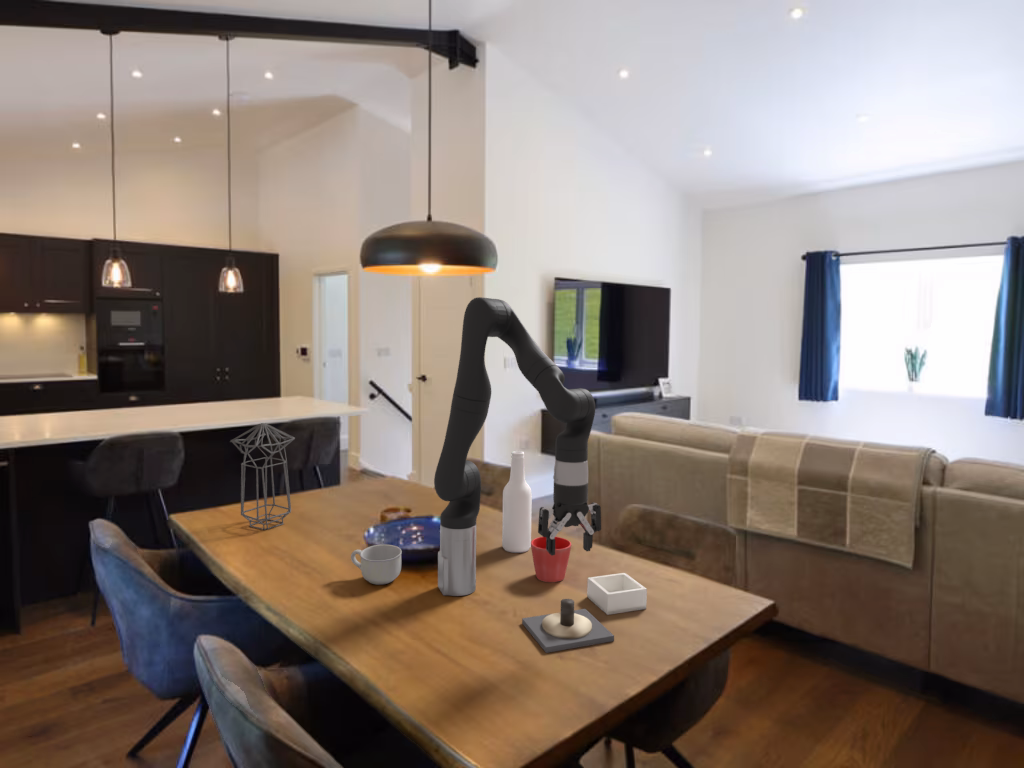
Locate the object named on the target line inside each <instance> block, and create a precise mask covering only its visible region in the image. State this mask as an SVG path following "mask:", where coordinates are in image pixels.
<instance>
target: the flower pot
mask: <svg viewBox="0 0 1024 768" xmlns="http://www.w3.org/2000/svg"><path fill="white" fill-rule="evenodd" d="M530 548H531V549H530V550H531V554H532V561H533V567H534V571H535V577H536V578H537V580H539V581H541V582H544V583H558V582H561V581H563V580H565V578H566V573H567V568H568V564H569V559H570V554H571V549H572V542H571V541H570V540H569V539H566V538H563V537H559V536H555V555H552V556H551V555H550V554H549V552H547V550H546V537H543V536H538V537H535V538H534V539H531V547H530Z"/></svg>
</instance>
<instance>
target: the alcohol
mask: <svg viewBox="0 0 1024 768" xmlns="http://www.w3.org/2000/svg"><path fill="white" fill-rule="evenodd" d="M510 457H511V461H510V462H511V463H510V474H509V480H508V482H507V484H505V486H504V487H503V490H502V526H501V527H502V532H501V533H502V537H501V539H502V541H501V546H502V548H503V550H504V551H505V552H508V553H513V554H519V553H520V554H522V553H526V552H528V551H530V548H531V541H532V499H533V497H532V496H533V494H532V488H531V486H530V485H529V484H528V483H527V481H526V472H525V471H526V469H525V452H524V451H522V450H514V451H511V455H510Z"/></svg>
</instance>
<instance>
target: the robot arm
mask: <svg viewBox="0 0 1024 768" xmlns="http://www.w3.org/2000/svg"><path fill="white" fill-rule="evenodd" d="M461 331H462V333H461V344H460V352H459V353H460V355H459V361H458V365H457V366H458V367H457V373H456V380H455V383H454V388H453V393H452V394H453V395H452V399H451V402H450V403H451V404H450V411H449V412H450V413H449V417H448V423H447V427H446V431H445V436H444V437H445V438H444V441H443V444H442V449H441V451H440V452H441V453H440V456H439V459H438V462H437V466H436V469H435V472H434V478H433V479H434V480H433V484H434V490H435V493H436V495H437V496H438V497H439V498H440V499H441V500H442V501H445V502H448V504H447V506H445V508H444V509H443V510H442V511H441V513H440V518H439V521H440V522H439V523H440V524H439V525H440V527H439V528H440V529H439V532H440V533H439V541H440V542H439V545H440V547H439V551H437V587H438V589H439V590H440V592H441V594H442V596H453V597H460V596H467V595H470V594H472V593H474V592H475V591H476V587H477V578H476V577H477V519H478V516H479V513H480V508H481V495H482V494H481V492H482V478H481V473H480V470H479V468H478V466H477V465H476V464H475V463H474V462H473V461H470V460H468V459H467V458H468V455H469V452H470V449H471V447H472V445H473V442H474V441H475V439H476V438H477V436H478V434H479V433H480V431H481V430H482V428H483V425H484V424H485V422H486V421H487V420H486V419H487V416H488V413H489V409H490V404H491V398H492V385H491V381H490V378H489V373H488V371H487V368H486V367H487V366H486V363H485V361H486V360H485V355H486V354H485V352H486V348H487V342H488V338H498V339H499V340H501V341H502V342H504V343H505V344H506V345H507V346H508V347H509V348H510V349H511V350H512V353H513V354H514V357H515V361H516V363H517V367H518V369H519V371H520V372H521V374H522V375H523V377H525V379H526V380H527V382H529V384H530V385H531V386H532V387H533V388H535V390H536V391H537V392H538V394H539V397H540V399H541V400H542V403H543V404H544V407H545V408H546V410H547V412H548V413H549V415H550V416H551V417H552V418H553V419H554V420H556V421H558V422H560V423H566V426H565V428H564V430H563V431H561V432H559V433H558V434H557V436H556V438H555V448H554V449H555V451H554V454H555V455H554V456H555V457H554V459H555V460H554V468H553V476H552V479H553V497H552V498H553V505H552V507H551V508H549V507H548V508H546V507H544V506H541V507H540V508H539V510H538V511H539V512H538V523H537V524H538V525H537V527H538V528H537V533H538V534H539V535H540V536H541V537H546V550H547V552H549V554H550V555H551V556H552V555H555V537H557V535H558V534H559V532H561V531H562V530H563V528H564V527H565V528H568V527H569V528H570V527H572V526H573V527H579V525H580V527H581V528H582V529H583V532H582V533H583V535H582V538H583V539H582V543H583V544H582V548H583V550H584V551H586V552H590V551H591V549H592V548H593V540H594V539H593V538H594V537H593V535H594V533H596V532H600V531H601V530H602V511H601V510H602V509H601V505H600V504H598V503H597V502H594V501H593V502H591V504H588V501H589V464H588V454H589V453H588V452H589V443H588V441H589V438H590V436H591V431H592V428H593V424H594V420H595V414H596V403H595V398H594V396H593V394H592V393H591V392H590V391H589V390H588V389H586V388H581V387H579V388H570V389H568V388H566V387H565V386H564V383H565V381H566V380H565V378H566V377H565V374H564V372H563V370H561V369H560V367H559V366H558V365H557V364H556V363H555V362H554V361H553V360H552V359H551V358H550V357H549V356H548V355H547V354H546V353H545V352H544V351H543V350H542V348H541V347H540V346H539V345H538V344H537V343H536V341H535V340H534V339H533V337H532V336H531V334H530V333H529V331H528V330H527V328H526V327H525V326H524V324H523V323H522V321H521V319H520V318H519V316H518V315H517V313H516V312H515V311H514V309H513V308H512V306H510V304H509V303H508V302H506V300H502V299H500V298H499V299H498V298H492V297H491V298H489V297H488V298H487V297H481V296H480V297H479V296H478V297H474V298H472V299H471V300H470V301H469V303H468V304H467V306H466V308H465V311H464V315H463V322H462V329H461ZM588 513H590V520H591V522H590V523H591V524H590V523H589V521H588V520H587V518H586V516H587V514H588ZM552 515H553V516H554V517H553V518H552V520H551V521H550V524H549V519H551V516H552Z"/></svg>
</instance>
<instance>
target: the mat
mask: <svg viewBox="0 0 1024 768" xmlns="http://www.w3.org/2000/svg"><path fill="white" fill-rule="evenodd" d="M574 613H575V614H579V615H582V616H584V617H586V618H588V619H589V620H590V621H591V623H592V630H591V632H590V633H589V634H588V635H586V636H584V637H581V638H575V639H565V638H559V637H555V636H552V635H550V634H548V633H547V632H545V631H544V629H543V627H542V621H543V619H544V618H545V617H546V616H548V615H550V614H551V613H548V614H547V613H546V614H541V615H535V616H534V615H533V616H529V617H528V616H527V617H522V618H521V619H522V620H521V624H522V625H523V626H524V628H525V629H526V630H527V631H528V632H529V634H530V635H531V636H532V637H533V639H534V640H535V642H537V644H538V645H539V646H540V647H541V648H542V649H543V651H544V652H545V654H547V653H554V652H559V651H560V652H561V651H563V650H564V651H565V650H570V649H576V648H583V647H588V646H593V645H599V644H606V643H610V642H615V635H614V634H613V633H612V632H611V631H610V630H608V628H607V627H606V626H605V625H603V623H602V622H600V621H599V620H598V619H597V618H596V617H595V616H594V615H593V614H592V613H591V612H589V611H588V610H587V609H586V608H582V609H574Z"/></svg>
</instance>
